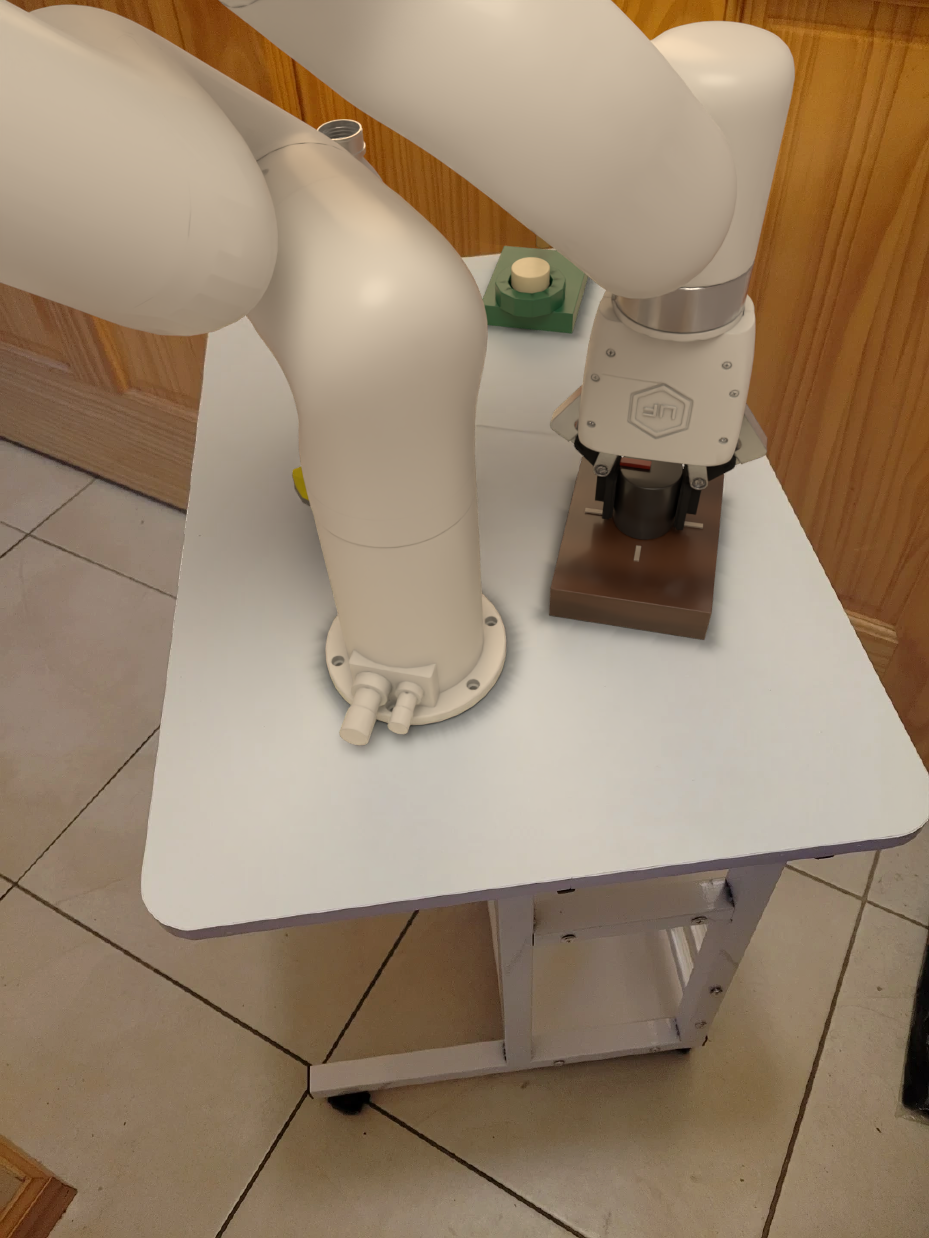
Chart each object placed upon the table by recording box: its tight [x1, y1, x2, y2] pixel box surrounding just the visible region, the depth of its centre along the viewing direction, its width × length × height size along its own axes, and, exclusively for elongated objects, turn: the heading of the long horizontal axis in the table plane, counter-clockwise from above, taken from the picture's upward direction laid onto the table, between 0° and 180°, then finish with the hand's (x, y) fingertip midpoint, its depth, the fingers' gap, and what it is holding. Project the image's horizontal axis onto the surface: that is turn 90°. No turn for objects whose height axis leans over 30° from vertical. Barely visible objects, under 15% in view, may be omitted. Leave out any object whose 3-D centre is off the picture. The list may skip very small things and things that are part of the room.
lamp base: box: [482, 245, 589, 334], centre depth 88 cm, size 12×9×4 cm
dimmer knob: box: [613, 456, 684, 540], centre depth 64 cm, size 4×4×5 cm
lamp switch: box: [511, 257, 550, 293], centre depth 84 cm, size 4×4×2 cm
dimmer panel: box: [548, 456, 725, 641], centre depth 66 cm, size 14×11×3 cm
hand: (644, 509), depth 65 cm, fingers closed on dimmer knob, 4 cm apart
